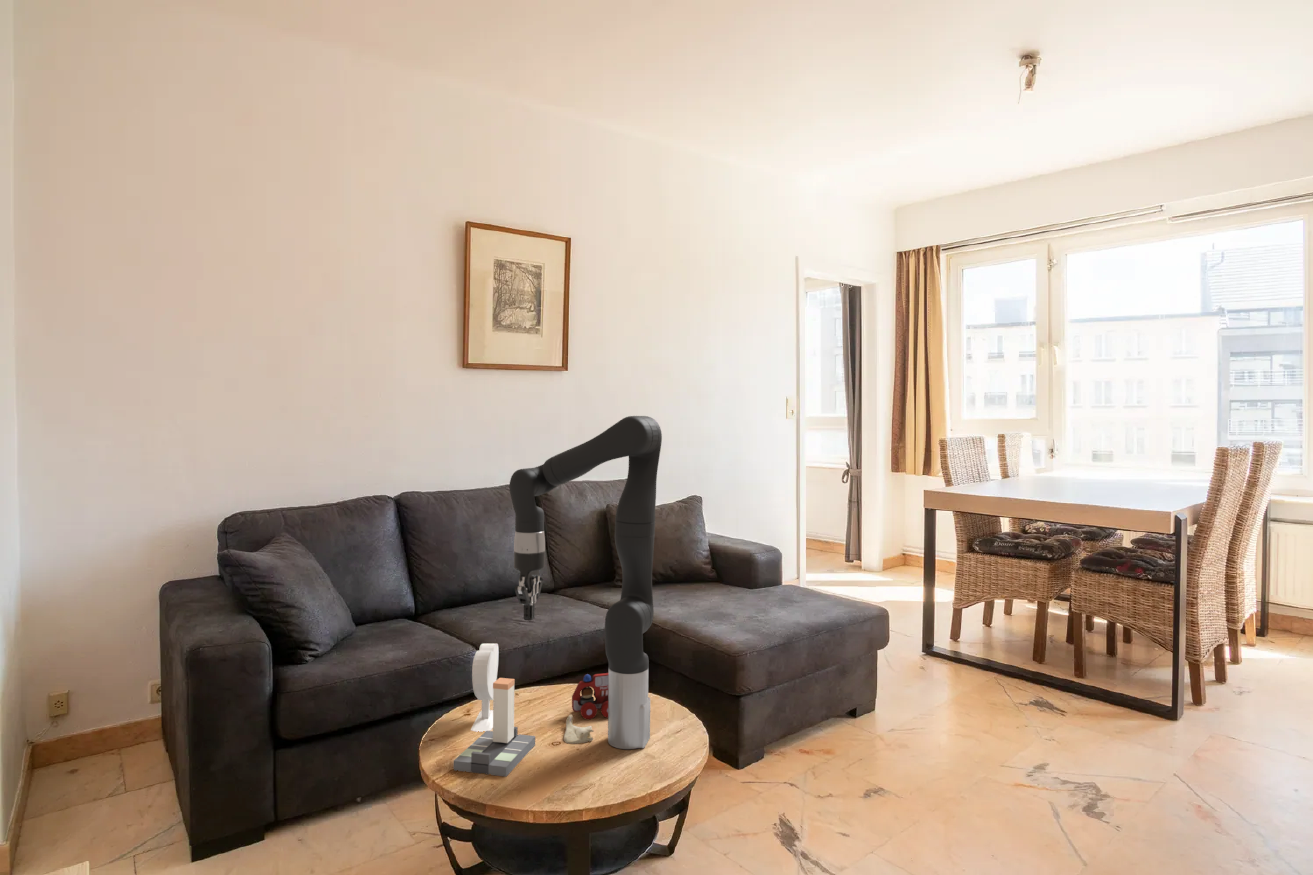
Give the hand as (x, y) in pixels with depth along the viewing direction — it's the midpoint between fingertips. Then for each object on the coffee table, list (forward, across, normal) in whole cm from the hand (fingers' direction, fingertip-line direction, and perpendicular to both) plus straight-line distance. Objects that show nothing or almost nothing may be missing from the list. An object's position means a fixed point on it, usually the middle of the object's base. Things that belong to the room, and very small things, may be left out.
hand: (529, 619), depth 189 cm
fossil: (+26, -4, -14) cm, 30 cm away
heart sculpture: (+25, -3, +10) cm, 27 cm away
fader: (+23, -17, -1) cm, 28 cm away
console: (+25, -21, -1) cm, 33 cm away
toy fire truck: (+25, +8, -15) cm, 30 cm away
